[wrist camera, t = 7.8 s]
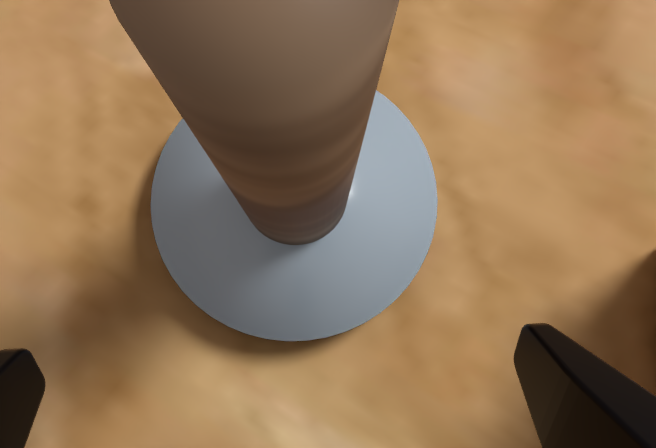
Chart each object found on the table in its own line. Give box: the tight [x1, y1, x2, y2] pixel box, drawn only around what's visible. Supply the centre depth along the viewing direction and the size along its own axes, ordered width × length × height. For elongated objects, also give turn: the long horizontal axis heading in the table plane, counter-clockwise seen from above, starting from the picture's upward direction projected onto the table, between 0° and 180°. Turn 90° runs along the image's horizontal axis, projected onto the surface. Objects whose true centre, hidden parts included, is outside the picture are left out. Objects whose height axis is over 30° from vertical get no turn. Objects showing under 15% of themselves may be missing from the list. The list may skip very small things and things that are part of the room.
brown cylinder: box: [109, 0, 399, 245], centre depth 11 cm, size 4×4×11 cm
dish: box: [151, 91, 437, 341], centre depth 17 cm, size 11×11×1 cm
